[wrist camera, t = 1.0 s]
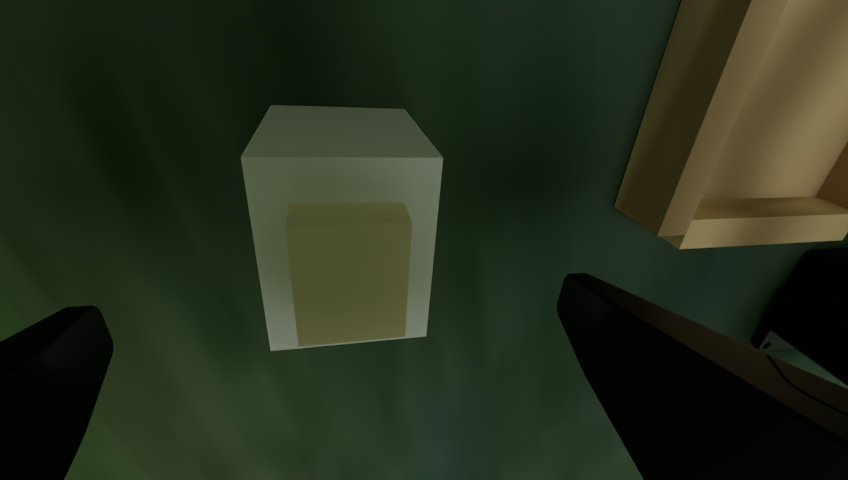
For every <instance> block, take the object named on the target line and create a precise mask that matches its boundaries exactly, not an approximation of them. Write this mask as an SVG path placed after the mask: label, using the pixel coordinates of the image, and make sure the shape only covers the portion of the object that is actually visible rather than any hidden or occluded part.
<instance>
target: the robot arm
mask: <svg viewBox="0 0 848 480" xmlns="http://www.w3.org/2000/svg"><path fill="white" fill-rule="evenodd" d="M557 312H558V315H559V318H560V320H561V322H562V325H563V327H564V329H565V332H566V334H567V336H568V338H569V341H570V343H571V345H572V348H573V350H574V352H575V354H576V357H577V359H578V361H579V364H580V366H581V368H582V370H583V372H584V374H585V376H586V378H587V380H588V382H589V383H590V385H591V387H592V389H593V391H594V392H595V394H596V396H597V398H598V399H599V401H600V403H601V405H602V407H603V408H604V410H605V412H606V414H607V415H608V417H609V419H610V421H611V422H612V424H613V426H614V428H615V430H616V431H617V433H618V435H619V437H620V438H621V440H622V442H623V444H624V445H625V447H626V449H627V451H628V453H629V454H630V456H631V458H632V460H633V461H634V463H635V465H636V467H637V469H638V470H639V472H640V474H641V476H642V477H643V479H644V480H848V389H847V388H844V387H842V386H839V385H837V384H834V383H832V382H830V381H827V380H825V379H823V378H820V377H818V376H816V375H814V374H811V373H809V372H807V371H804V370H802V369H800V368H797V367H795V366H793V365H791V364H788V363H786V362H784V361H782V360H779V359H777V358H775V357H773V356H770V355H767V356H766V355H765V353H763V352H768V351H776V350H784V349H792V348H795V349H797V350H798V351H800V352H801V353H802V354H804V355H805V356H807V357H808V358H809V359H811V360H812V361H813V362H815V363H816V364H818V365H819V366H820V367H822V368H823V369H825V370H826V371H827V372H829V373H830V374H831V375H833V376H834V377H836V378H837V379H838V380H840V381H841V382H843V383H844V384H845V385H847V386H848V249H839V250H823V251H815V252H813V253H811V254H809V255H808V256H807V257H806V259H805V260H804V261H803V263H802V265H801V266H800V268H799V269H798V271H797V273H796V274H795V276H794V277H793V279H792V281H791V282H790V284H789V285H788V287H787V289H786V290H785V292H784V294H783V295H782V297H781V298H780V300H779V302H778V303H777V305H776V306H775V308H774V310H773V311H772V313H771V314H770V316H769V318H768V319H767V321H766V322H765V324H764V326H763V327H762V329H761V330H760V332H759V334H758V335H757V337H756V338H755V340H754V342H753V347H755V348H756V349H755V348H752V347H750V346H748V345H746V344H743V343H741V342H739V341H737V340H734V339H732V338H730V337H728V336H725V335H723V334H721V333H719V332H717V331H714V330H712V329H710V328H708V327H705V326H703V325H701V324H699V323H696V322H694V321H692V320H690V319H687V318H685V317H683V316H681V315H678V314H676V313H674V312H672V311H670V310H667V309H665V308H663V307H661V306H658V305H656V304H654V303H652V302H649V301H647V300H645V299H643V298H640V297H638V296H636V295H634V294H631V293H629V292H627V291H625V290H623V289H620V288H618V287H616V286H614V285H611V284H609V283H607V282H605V281H602V280H600V279H598V278H596V277H593V276H591V275H589V274H586V273H575V274H568V275H567V276H566V277H565V278H564V281H563V285H562V288H561V292H560V295H559V299H558V302H557ZM112 354H113V341H112V338H111V335H110V333H109V330H108V328H107V325H106V323H105V321H104V318H103V316H102V313H101V311H100V310H99V309H98V308H97V307H95V306H75V307H67V308H64V309H62V310H60V311H58V312H56V313H54V314H52V315H50V316H49V317H47V318H45V319H43V320H41V321H39V322H37V323H35V324H33V325H31V326H30V327H28V328H26V329H24V330H22V331H20V332H18V333H16V334H14V335H12V336H10V337H9V338H7V339H5V340H3V341H1V342H0V480H64V478H65V476H66V474H67V472H68V470H69V468H70V466H71V464H72V462H73V459H74V457H75V455H76V453H77V451H78V449H79V446H80V444H81V442H82V440H83V437H84V435H85V432H86V430H87V427H88V424H89V422H90V419H91V416H92V413H93V410H94V407H95V404H96V401H97V398H98V395H99V392H100V389H101V387H102V384H103V381H104V378H105V375H106V372H107V369H108V366H109V363H110V360H111V357H112Z"/></svg>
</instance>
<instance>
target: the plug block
mask: <svg viewBox="0 0 848 480" xmlns="http://www.w3.org/2000/svg"><path fill="white" fill-rule="evenodd" d="M241 163H242V169H243V175H244V182H245V188H246V195H247V201H248V208H249V214H250V221H251V227H252V234H253V240H254V247H255V253H256V260H257V266H258V272H259V279H260V285H261V292H262V298H263V305H264V311H265V318H266V324H267V331H268V337H269V344H270V350H271V351H277V350H287V349H298V348H309V347H319V346H330V345H340V344H351V343H361V342H372V341H383V340H393V339H404V338H414V337H425V336H426V333H427V323H428V312H429V302H430V291H431V281H432V270H433V260H434V249H435V239H436V228H437V218H438V207H439V197H440V186H441V176H442V165H443V157H442V156H441V154H440V153H439V152H438V151H437V149H436V148H435V147H434V146H433V144H432V143H431V142H430V140H429V139H428V138H427V137H426V135H425V134H424V133H423V132H422V130H421V129H420V128H419V127H418V125H417V124H416V123H415V122H414V120H413V119H412V118H411V117H410V115H409V114H408V113H407V111H406V110H405V109H389V108H355V107H321V106H286V105H271V106H270V107H269V109H268V111H267V113H266V114H265V116H264V118H263V120H262V121H261V123H260V125H259V126H258V128H257V130H256V132H255V133H254V135H253V137H252V138H251V140H250V142H249V144H248V145H247V147H246V149H245V150H244V152H243V154H242V156H241Z"/></svg>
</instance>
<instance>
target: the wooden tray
mask: <svg viewBox="0 0 848 480" xmlns="http://www.w3.org/2000/svg"><path fill="white" fill-rule="evenodd" d="M614 207H615V208H617V209H618V210H619V211H621V212H622V213H624V214H625V215H627V216H628V217H630V218H631V219H633V220H634V221H636V222H637V223H638V224H640V225H641V226H643V227H644V228H646V229H647V230H649V231H650V232H652V233H653V234H655V235H656V236H660V237H662V238H663V239H665V240H666V241H668V242H669V243H671V244H672V245H674V246H675V247H677V248H678V249H693V248H711V247H729V246H747V245H765V244H783V243H801V242H819V241H837V240H843V239H844V237H845V235H846V234H847V232H848V0H682V1H681V4H680V7H679V10H678V13H677V16H676V19H675V22H674V25H673V28H672V31H671V34H670V37H669V40H668V44H667V47H666V50H665V53H664V56H663V59H662V62H661V65H660V68H659V71H658V74H657V77H656V80H655V83H654V86H653V89H652V92H651V95H650V98H649V102H648V105H647V108H646V111H645V114H644V117H643V120H642V123H641V126H640V129H639V132H638V135H637V138H636V141H635V144H634V147H633V150H632V153H631V156H630V159H629V163H628V166H627V169H626V172H625V175H624V178H623V181H622V184H621V187H620V190H619V193H618V196H617V199H616V202H615V205H614Z"/></svg>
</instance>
